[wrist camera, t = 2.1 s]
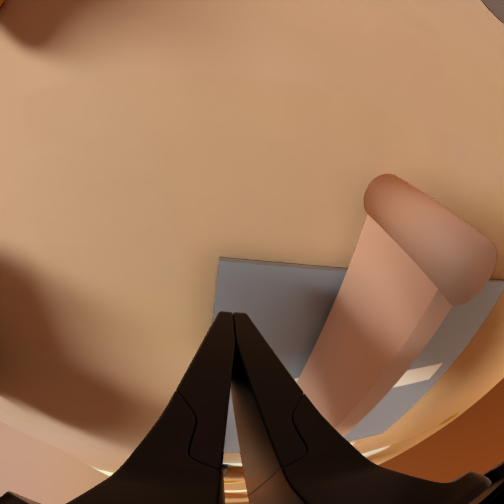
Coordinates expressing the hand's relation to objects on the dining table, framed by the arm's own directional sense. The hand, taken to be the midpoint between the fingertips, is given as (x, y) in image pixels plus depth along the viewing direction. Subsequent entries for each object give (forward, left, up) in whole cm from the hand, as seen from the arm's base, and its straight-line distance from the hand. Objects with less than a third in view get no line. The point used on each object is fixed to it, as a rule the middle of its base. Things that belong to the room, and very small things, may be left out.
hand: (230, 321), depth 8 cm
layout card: (-12, -11, -4) cm, 16 cm away
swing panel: (-2, -6, -3) cm, 7 cm away
